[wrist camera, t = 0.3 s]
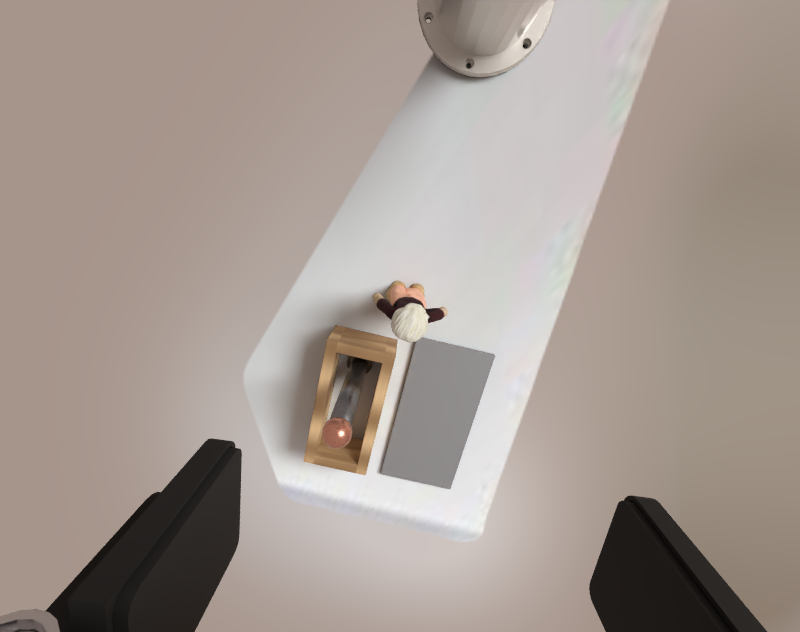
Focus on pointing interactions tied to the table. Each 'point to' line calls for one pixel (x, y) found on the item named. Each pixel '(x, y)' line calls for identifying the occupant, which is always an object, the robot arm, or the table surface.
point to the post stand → (346, 404)
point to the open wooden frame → (343, 342)
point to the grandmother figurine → (408, 310)
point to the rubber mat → (436, 412)
